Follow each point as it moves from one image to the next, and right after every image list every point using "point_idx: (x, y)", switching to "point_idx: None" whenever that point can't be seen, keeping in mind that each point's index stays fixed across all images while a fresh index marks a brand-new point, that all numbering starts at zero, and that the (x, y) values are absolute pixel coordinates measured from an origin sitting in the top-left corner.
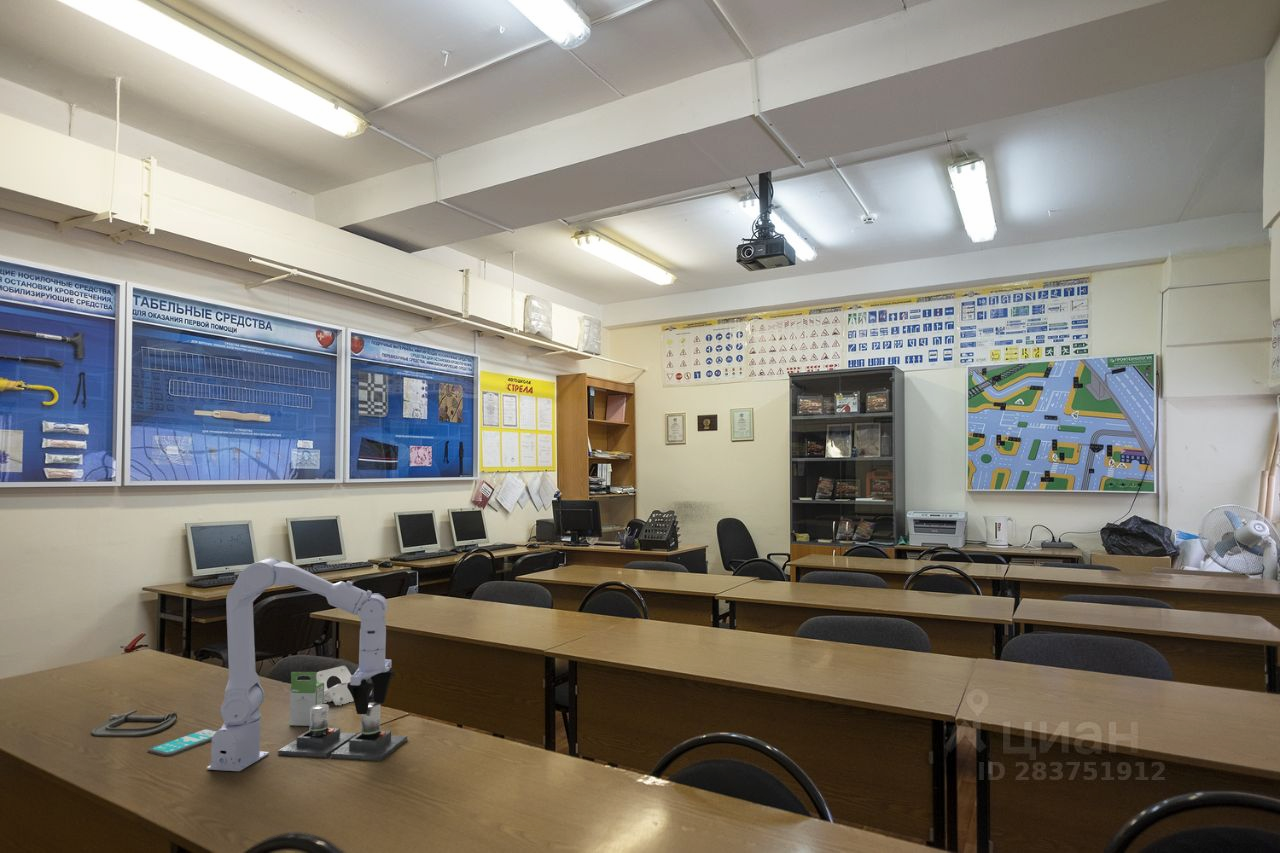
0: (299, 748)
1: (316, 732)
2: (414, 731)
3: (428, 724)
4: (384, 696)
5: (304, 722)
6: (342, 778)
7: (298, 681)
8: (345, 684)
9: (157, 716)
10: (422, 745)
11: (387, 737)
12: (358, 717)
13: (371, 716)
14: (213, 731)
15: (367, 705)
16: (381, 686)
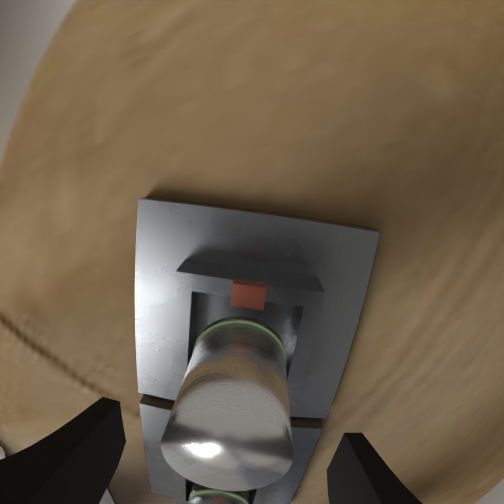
0: (276, 489)
1: (247, 498)
2: (60, 206)
3: (7, 181)
4: (97, 426)
5: (109, 502)
6: (480, 304)
7: None
8: None
9: None
10: (201, 105)
11: (216, 270)
12: (24, 411)
13: (286, 401)
14: None
15: (381, 469)
16: (67, 498)
